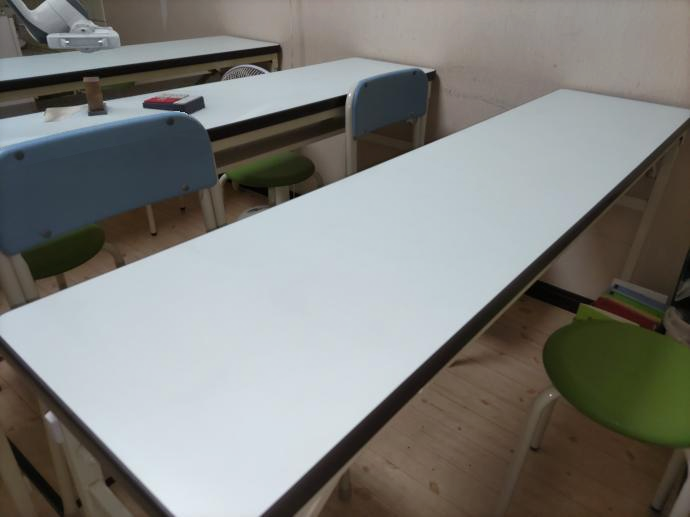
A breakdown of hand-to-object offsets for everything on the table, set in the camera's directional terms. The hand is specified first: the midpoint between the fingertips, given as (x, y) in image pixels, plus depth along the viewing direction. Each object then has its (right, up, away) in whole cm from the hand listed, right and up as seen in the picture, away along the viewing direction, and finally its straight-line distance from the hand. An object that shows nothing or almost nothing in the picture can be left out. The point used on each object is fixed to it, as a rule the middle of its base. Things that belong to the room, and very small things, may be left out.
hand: (84, 44), depth 151 cm
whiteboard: (0, -22, -1) cm, 22 cm away
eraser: (+4, -20, -1) cm, 21 cm away
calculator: (+25, -18, +7) cm, 31 cm away
